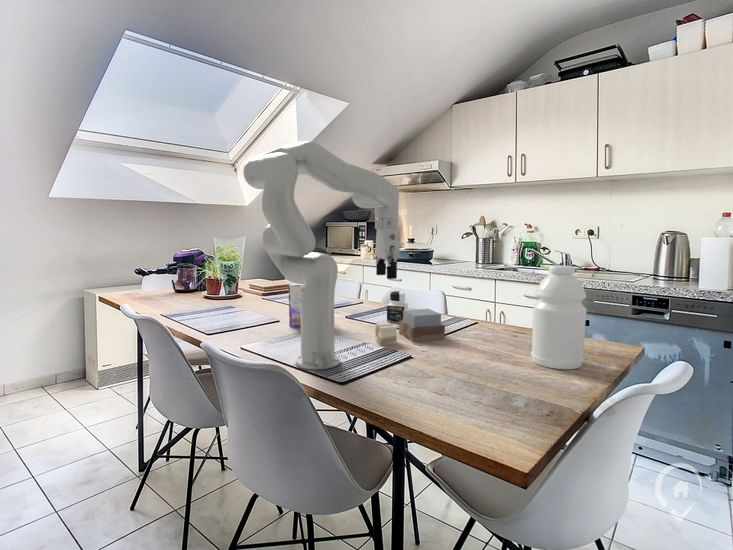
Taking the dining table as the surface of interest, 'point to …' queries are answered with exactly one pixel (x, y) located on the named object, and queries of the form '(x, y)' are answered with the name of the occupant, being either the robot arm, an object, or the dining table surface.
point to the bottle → (559, 320)
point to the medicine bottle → (396, 307)
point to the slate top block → (421, 318)
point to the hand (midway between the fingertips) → (386, 276)
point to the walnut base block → (421, 332)
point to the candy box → (295, 304)
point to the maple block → (385, 334)
